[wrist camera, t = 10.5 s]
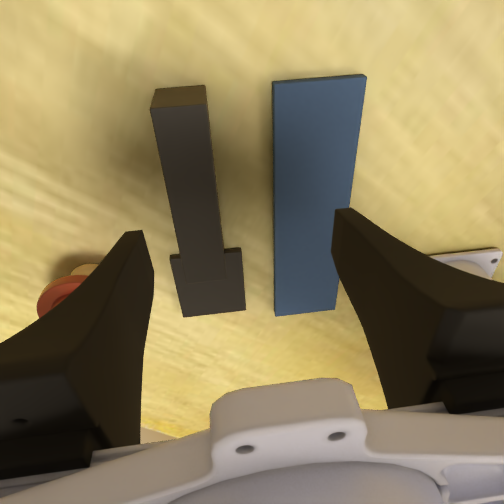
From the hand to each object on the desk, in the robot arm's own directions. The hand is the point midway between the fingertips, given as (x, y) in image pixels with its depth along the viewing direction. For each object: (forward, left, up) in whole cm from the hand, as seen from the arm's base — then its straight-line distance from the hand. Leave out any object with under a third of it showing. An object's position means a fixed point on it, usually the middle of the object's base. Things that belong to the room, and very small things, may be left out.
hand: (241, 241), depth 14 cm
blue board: (-6, -5, -10) cm, 13 cm away
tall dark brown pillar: (-5, +2, -10) cm, 11 cm away
